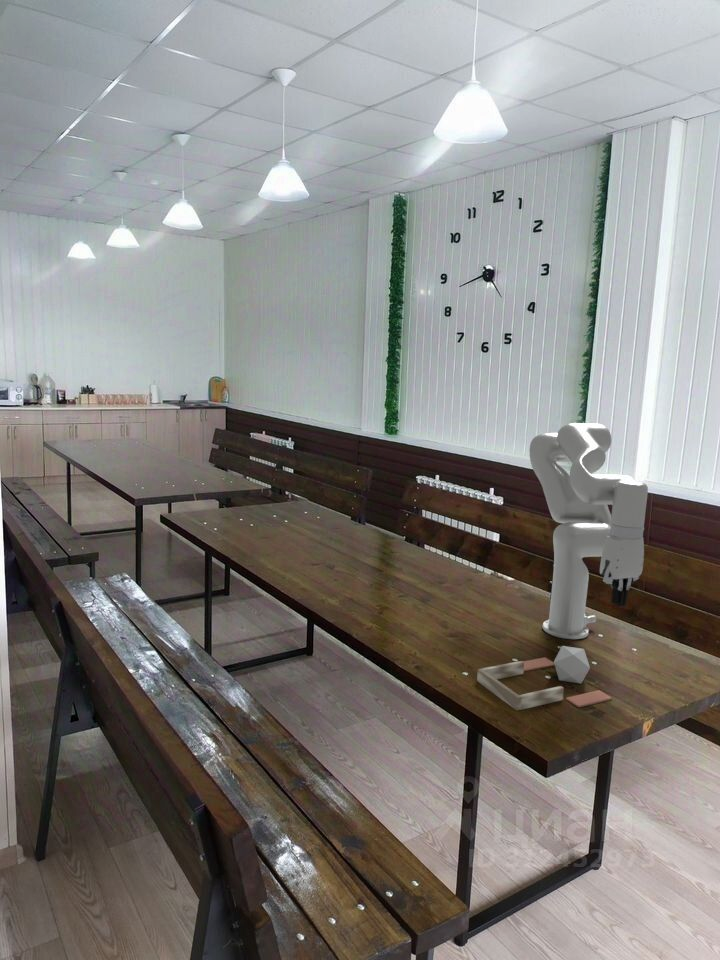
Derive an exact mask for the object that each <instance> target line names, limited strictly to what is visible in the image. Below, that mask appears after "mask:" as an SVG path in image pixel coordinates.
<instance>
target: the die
mask: <svg viewBox="0 0 720 960" xmlns="http://www.w3.org/2000/svg"><path fill="white" fill-rule="evenodd" d="M553 662H554V664H555V665H554V667H555V671H556V674H557V677H558V680H559V681H562V682H568V683H575V684H579V685H580V684H582V683H583V681H584V679H585V678H586V676H587V674H588V673H589V671H590V669H591V666H590V663H589V660H588V657H587V654H586V652H585V648H580V647H572V646H566V645H562V646H561V647H560V649H559V651H558V653H557V654H556V657H555V658H554V661H553Z"/></svg>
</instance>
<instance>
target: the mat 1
mask: <svg viewBox="0 0 720 960" xmlns="http://www.w3.org/2000/svg"><path fill="white" fill-rule="evenodd" d="M522 661H523V662H524V671H523V672H528V671H533V670H538V669H543V668H548V667H552V666H553V667H554V666H555V664H554V661H552V660H551V659H549V658H547V657H545V656H544V657H540V658H533V659H530V660H529V659H528V660H522Z"/></svg>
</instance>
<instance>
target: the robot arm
mask: <svg viewBox="0 0 720 960" xmlns="http://www.w3.org/2000/svg"><path fill="white" fill-rule="evenodd" d="M611 445H612V434H611V432H610V430H609V429H608V428H607V427H606V426H605V425H603V424H601V423H594V422H593V423H589V422H588V423H587V422H586V423H585V422H582V423H581V422H573V423H566V424H565V425H563V426H562V427H560V428H559V430H558V432H547V433H540V434H538V435H536V436H535V437H533V438H532V439H531V441H530V444H529V451H528V452H529V459H530V464H531V467H532V470H533V473H534V474H535V475H536V477H537V479H538V481H539V482H540V484H541V487H542V491H543V493H544V494H543V495H544V497H545V500H546V504H547V506H548V510H549V513H550V515H551V517H552V519H553V520H554V522H556V523H559V525H558V526H556V528H555V529H554V530H553V535H552V543H553V552H554V553H553V554H554V555H553V556H554V557H553V560H554V561H553V572H552V573H553V574H552V585H551V595H550V602H549V603H550V605H549V614H548V615H549V616H548V619H547V620H545V621H543V623H542V629H543V631H544V633H547V634H549V635H550V636H553V637H556V638H561V639H566V640H581V639H585V638H587V637H588V636H589V635H590V633H589V632H590V630H589V628H588V627H587V625H588V624H590V623H591V624H592V623H595V622H597V617H596V615H594V614H593V615H588V616H587V615H586V606H587V605H586V604H587V595H588V587H589V577H590V576H589V574H590V572H589V570H588V567H587V566H586V564H585V562H584V561H583V558H589V557H592V558H593V557H601V558H600V565H599V574H600V575H602V576H603V579H602V582H603V583H604V584H606V585H607V584H608V585H610V588H612V592H611V603H612V604H613V605H615V606H618V607H620V608H621V607H625V606H626V605H627V601H628V600H627V599H628V591H629V590H630V588H631V586H632V584H633V582H635V581H638V580H639V579H640V576H641V575H642V572H643V568H644V560H645V558H644V557H645V544H644V543H645V542H644V530H645V520H646V509H647V500H648V495H649V494H648V493H649V492H648V491H649V487H648V485H647V484H646V483H645V482H643V481H640V480H636V479H635V478H634V477H632V476H630V475H626V474H604V473H603V474H602V473H601V474H600V473H597V474H595V473H596V472H597V471H599V470H600V469H601V468H602V467H603V466H604V464H605V462H606V453H607V452H608V450H609V449H610V448H611ZM558 463H571V466H570V469H569V473H568V472H567V471H566V469H565V468H563V467H562V466H561V465H559V464H558ZM608 505H611V507H612V508H611V511H610V509H609V506H608Z"/></svg>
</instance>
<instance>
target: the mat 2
mask: <svg viewBox="0 0 720 960" xmlns="http://www.w3.org/2000/svg"><path fill="white" fill-rule="evenodd" d="M612 699H613V698H612V697H611V696H610V695H608V694H606V693H605V692H603V691H602V690H600V689H598V690H594V691H589V692H585V693H581V694H576V695H572V696H569V697H568V696H567V697H565V700H566V701H568V702H569V703H571V704H572V705H574V706H576V707H577V708H582V707H586V706H591V705H594V704H598V703H604V702H607V701H611V700H612Z"/></svg>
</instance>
